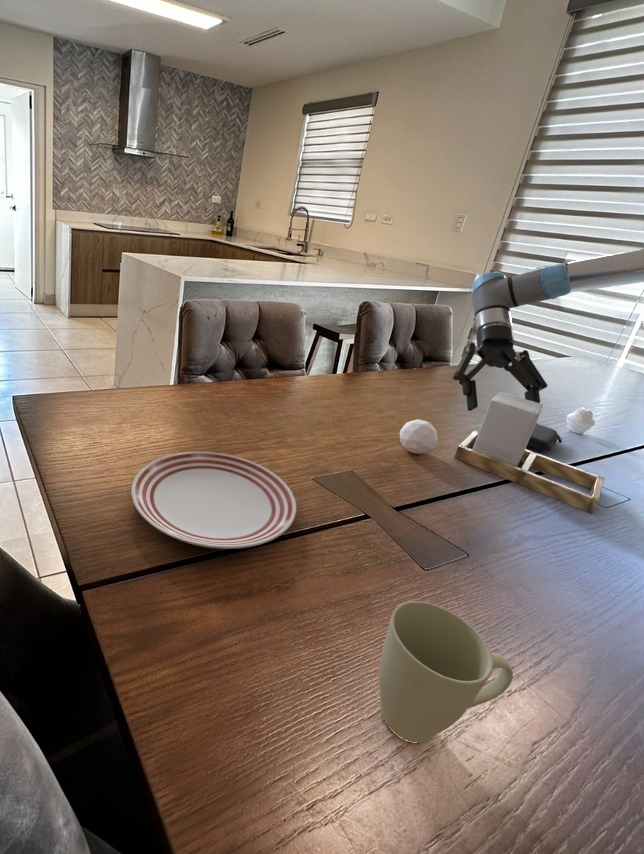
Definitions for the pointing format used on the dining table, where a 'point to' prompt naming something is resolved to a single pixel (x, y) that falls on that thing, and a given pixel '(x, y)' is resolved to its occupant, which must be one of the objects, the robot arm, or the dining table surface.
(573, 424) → the muffin
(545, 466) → the rack
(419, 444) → the geometric ball
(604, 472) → the dining table surface
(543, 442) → the carrying case
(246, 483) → the dinner plate
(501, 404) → the rectangular carton
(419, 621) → the mug
